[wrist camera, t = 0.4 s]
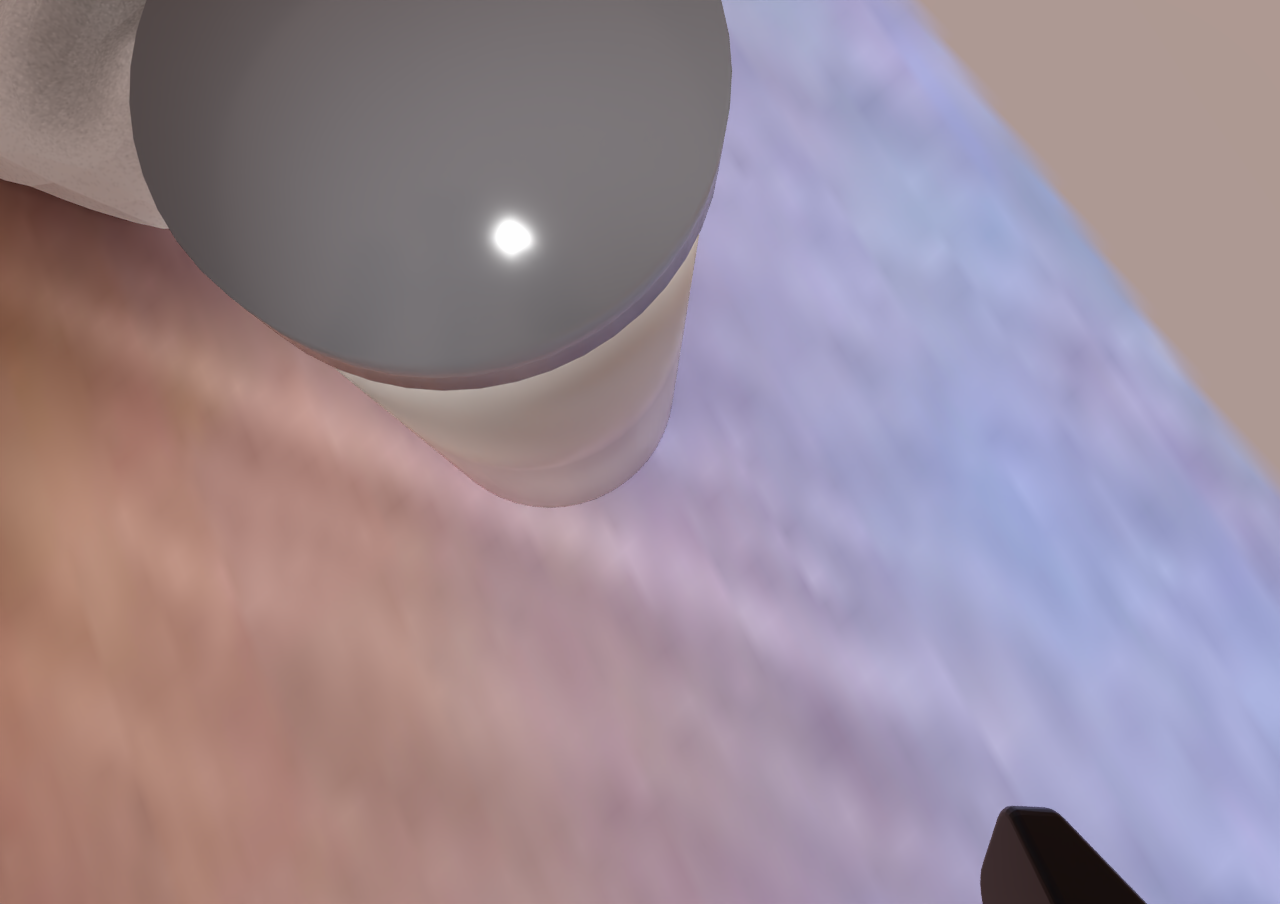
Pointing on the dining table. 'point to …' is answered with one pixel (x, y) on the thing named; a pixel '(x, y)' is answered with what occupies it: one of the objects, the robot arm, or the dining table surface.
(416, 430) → the shaker
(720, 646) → the dining table surface
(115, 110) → the cloth
